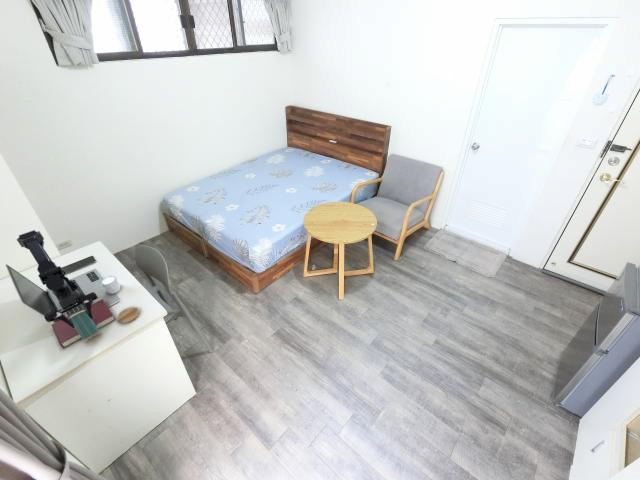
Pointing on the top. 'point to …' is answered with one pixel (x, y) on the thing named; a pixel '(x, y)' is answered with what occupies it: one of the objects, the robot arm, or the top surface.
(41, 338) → the top surface
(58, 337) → the book
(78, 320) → the pencil cup
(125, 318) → the coaster
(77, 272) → the top surface
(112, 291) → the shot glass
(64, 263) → the top surface
